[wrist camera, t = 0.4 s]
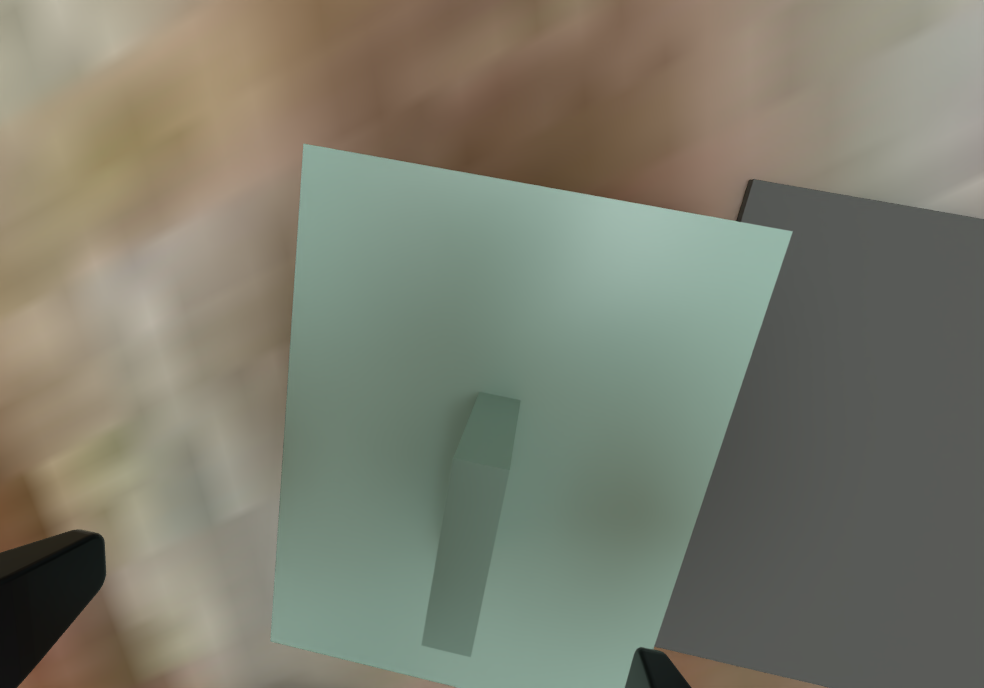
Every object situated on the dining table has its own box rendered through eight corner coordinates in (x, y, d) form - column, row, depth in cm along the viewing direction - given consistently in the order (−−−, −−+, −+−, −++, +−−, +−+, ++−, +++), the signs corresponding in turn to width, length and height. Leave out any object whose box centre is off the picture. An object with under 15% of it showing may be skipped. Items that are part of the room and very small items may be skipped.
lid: (618, 670, 19) (649, 883, 13) (300, 594, 20) (191, 761, 14) (756, 228, 14) (903, 240, 8) (338, 153, 15) (200, 114, 9)
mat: (998, 720, 22) (1006, 728, 21) (613, 629, 23) (614, 637, 23) (1269, 270, 16) (1286, 272, 16) (749, 179, 17) (753, 179, 17)
